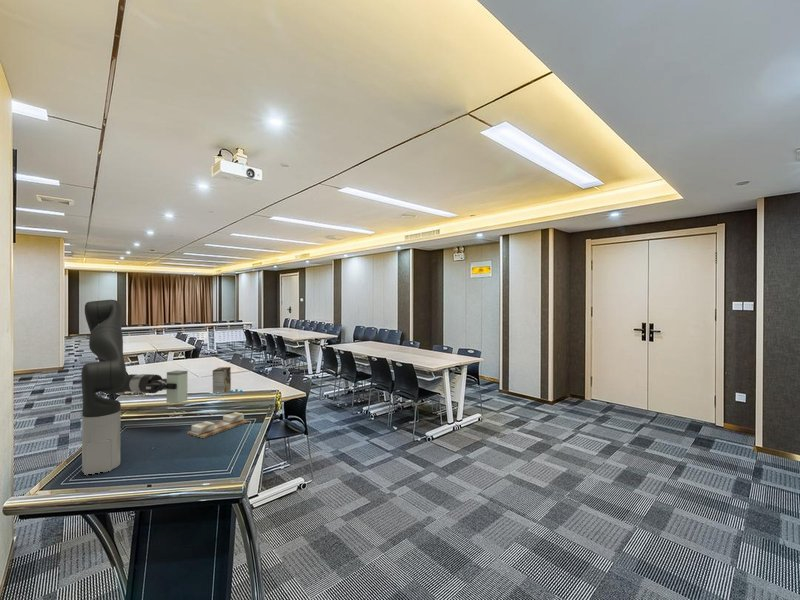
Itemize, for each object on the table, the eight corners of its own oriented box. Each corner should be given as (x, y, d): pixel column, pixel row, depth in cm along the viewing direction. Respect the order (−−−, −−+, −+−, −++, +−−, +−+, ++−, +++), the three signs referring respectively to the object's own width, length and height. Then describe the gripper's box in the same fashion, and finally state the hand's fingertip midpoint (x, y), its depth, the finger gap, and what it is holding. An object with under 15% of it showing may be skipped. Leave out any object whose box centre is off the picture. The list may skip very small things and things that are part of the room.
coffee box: (219, 395, 198) (219, 367, 198) (231, 395, 199) (231, 366, 199) (212, 400, 189) (212, 370, 189) (224, 400, 189) (224, 369, 190)
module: (178, 403, 140) (178, 372, 140) (166, 402, 141) (166, 372, 141) (187, 400, 144) (187, 370, 144) (175, 399, 145) (176, 370, 145)
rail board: (203, 438, 135) (203, 429, 135) (187, 434, 139) (187, 424, 139) (247, 423, 152) (247, 414, 152) (232, 419, 157) (232, 411, 157)
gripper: (129, 377, 139) (166, 379, 135) (161, 371, 153) (195, 372, 149) (129, 397, 139) (166, 399, 135) (161, 388, 153) (195, 390, 149)
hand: (181, 385), depth 142 cm, fingers closed on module, 4 cm apart
